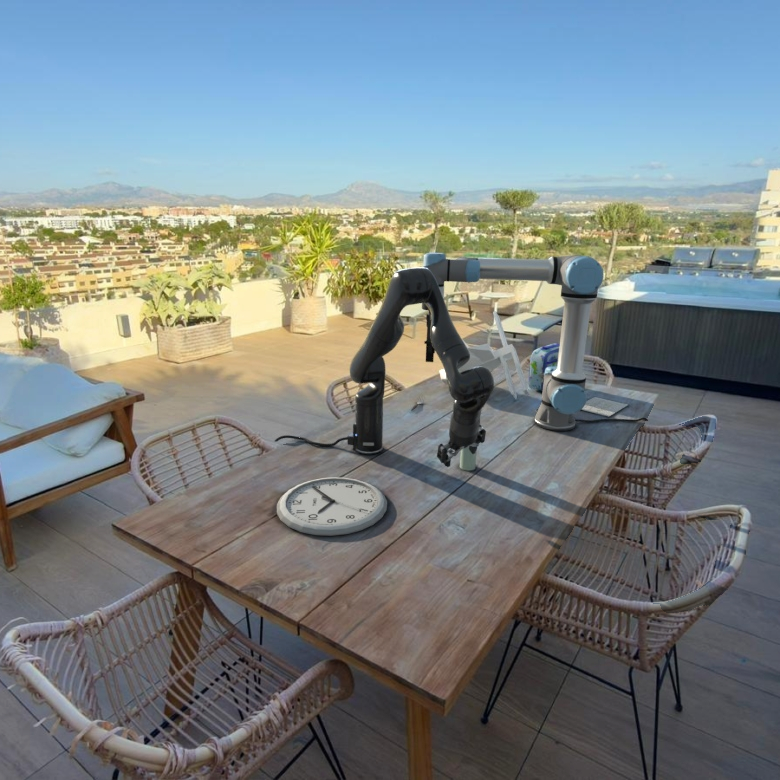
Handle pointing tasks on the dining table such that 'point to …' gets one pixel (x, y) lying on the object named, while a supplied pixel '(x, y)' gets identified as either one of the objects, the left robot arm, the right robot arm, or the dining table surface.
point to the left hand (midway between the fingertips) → (459, 458)
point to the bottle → (467, 459)
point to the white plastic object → (493, 360)
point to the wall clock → (331, 506)
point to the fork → (418, 403)
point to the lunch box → (542, 364)
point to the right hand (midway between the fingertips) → (430, 357)
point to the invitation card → (603, 406)
